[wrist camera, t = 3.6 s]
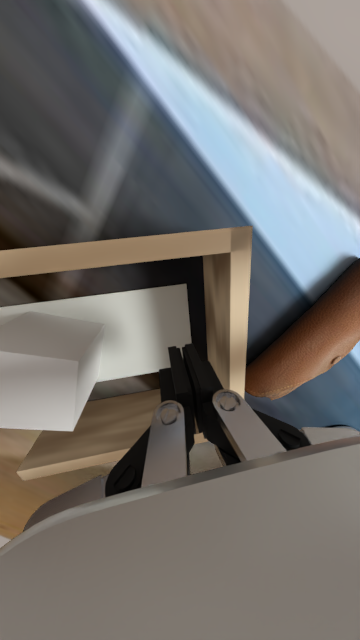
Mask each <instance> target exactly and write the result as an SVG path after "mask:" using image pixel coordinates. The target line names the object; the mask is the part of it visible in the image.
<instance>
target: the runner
mask: <svg viewBox="0 0 360 640" xmlns="http://www.w3.org/2000/svg"><path fill="white" fill-rule="evenodd" d="M31 311H33V312H39V313H44V314H50V315H56V316H61V317H67V318H73V319H78V320H84V321H89V322H95V323H101V324H105V329H104V336H103V344H102V352H101V360H100V367H99V375H98V378H97V380H96V382H100V381H106V380H112V379H118V378H124V377H129V376H135V375H141V374H147V373H153V372H159V369H164V368H170V367H171V366H170V359H169V352H168V347H172V346H176V348H180V351H181V354H182V347H185V344H190V343H191V331H190V320H189V308H188V297H187V285H186V284H179V285H171V286H163V287H155V288H147V289H140V290H132V291H124V292H116V293H108V294H100V295H92V296H84V297H76V298H69V299H61V300H53V301H45V302H37V303H29V304H21V305H13V306H5V307H0V325H3V324H5V323H7V322H9V321H11V320H13V319H16V318H18V317H20V316H22V315H24V314H26V313H29V312H31ZM182 358H183V354H182Z"/></svg>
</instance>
